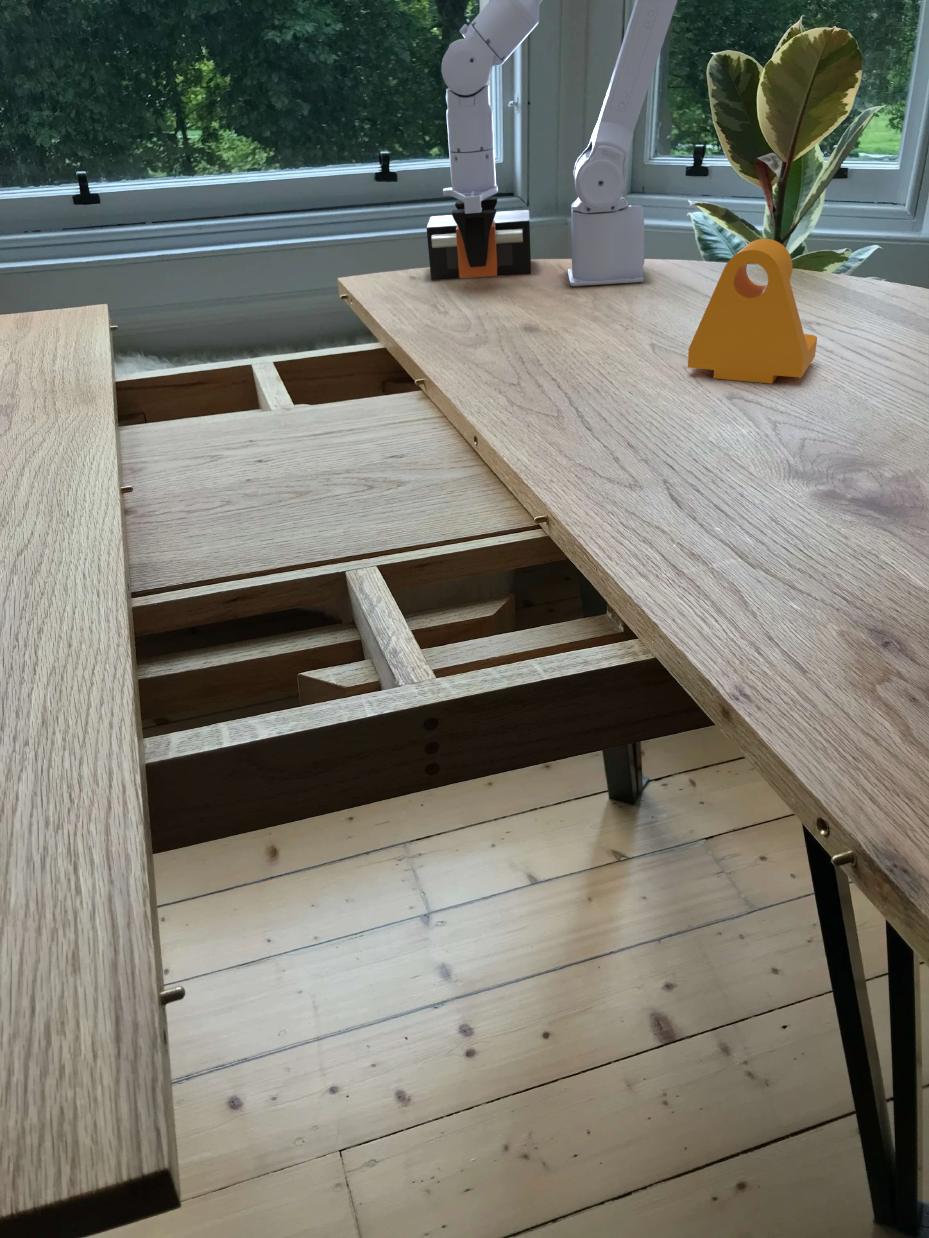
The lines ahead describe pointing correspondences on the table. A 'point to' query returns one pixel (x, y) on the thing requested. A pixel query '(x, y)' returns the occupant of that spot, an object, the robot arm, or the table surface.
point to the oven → (508, 240)
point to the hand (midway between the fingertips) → (478, 261)
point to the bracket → (753, 321)
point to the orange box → (483, 271)
